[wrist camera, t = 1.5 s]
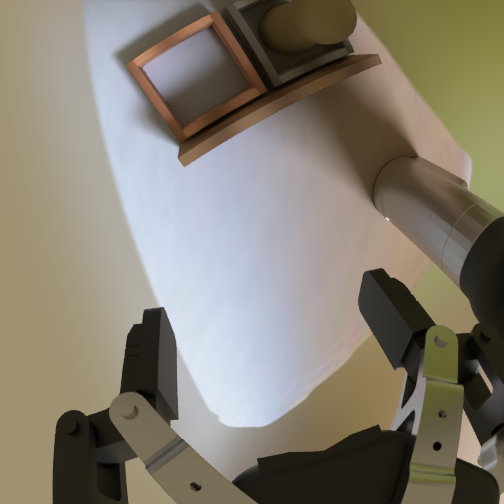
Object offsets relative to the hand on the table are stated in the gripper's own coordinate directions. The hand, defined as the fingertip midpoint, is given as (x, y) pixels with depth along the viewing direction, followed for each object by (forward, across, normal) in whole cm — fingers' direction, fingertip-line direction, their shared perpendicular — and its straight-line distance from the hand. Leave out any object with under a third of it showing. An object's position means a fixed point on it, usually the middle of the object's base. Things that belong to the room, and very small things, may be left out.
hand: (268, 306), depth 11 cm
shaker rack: (+23, -3, -11) cm, 26 cm away
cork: (+23, -8, -13) cm, 28 cm away
